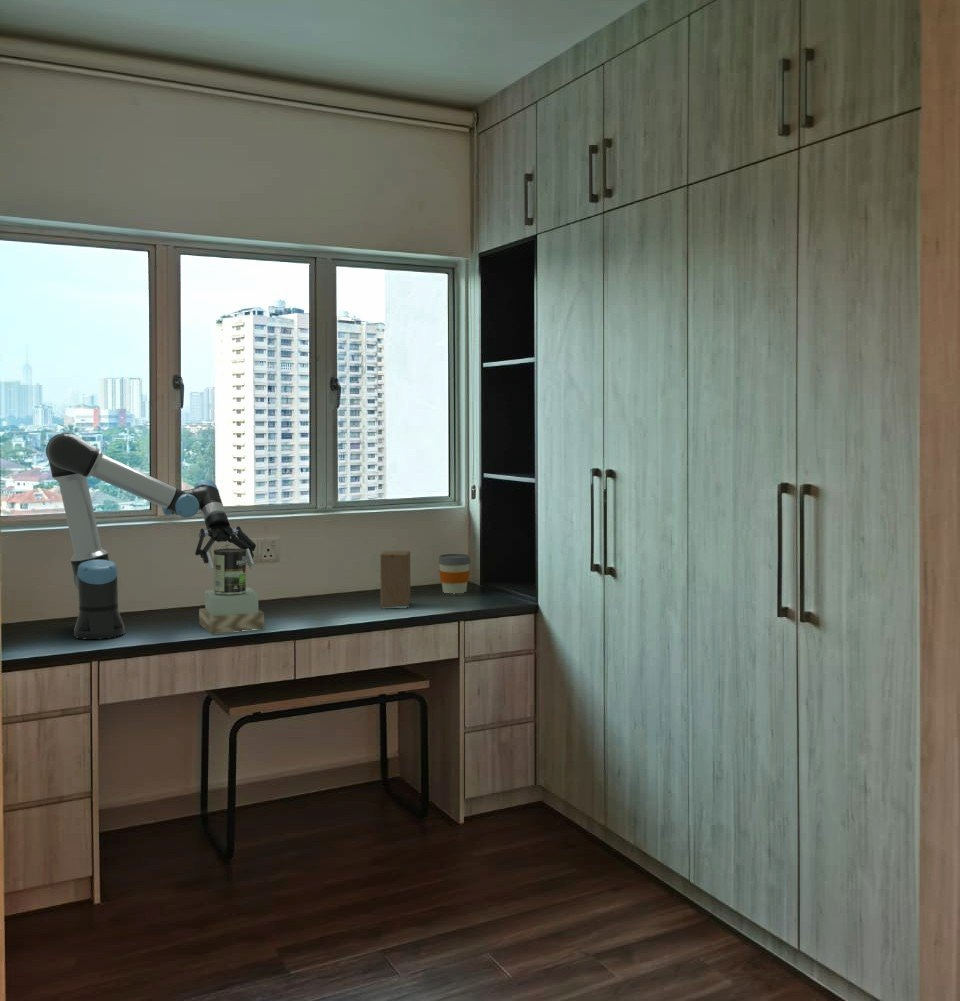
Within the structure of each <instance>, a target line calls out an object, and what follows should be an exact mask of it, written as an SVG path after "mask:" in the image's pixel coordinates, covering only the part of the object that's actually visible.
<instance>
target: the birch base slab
mask: <svg viewBox="0 0 960 1001" xmlns="http://www.w3.org/2000/svg"><path fill="white" fill-rule="evenodd" d="M198 612H199V613H198V616H199V617H198V618H199V626H200V625H201V626H202V627H201V626H200V627H201V628H203V627H204V628H205V629H206V630H205V629H204V628H203V629H204V630H205V631H207V630H208V631H209V632H210V633H209V632H208V631H207V632H208V633H209V634H211V633H212V634H214V635H216V634H215V633H223V634H226V633H225V632H233V633H235V632H234V631H242V630H252V629H262V630H264V629H265V612H263V611H262V610H260V609H258V613H251V614H238V615H224V616H211V615H210V614H209V612H208V611H207V610H206V608H205V607H204V608H199V610H198ZM263 628H264V629H263ZM252 631H253V630H252ZM212 634H211V635H212Z"/></svg>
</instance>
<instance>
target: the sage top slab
mask: <svg viewBox="0 0 960 1001" xmlns="http://www.w3.org/2000/svg"><path fill="white" fill-rule="evenodd" d="M204 604H205V605H204V606H205V607H204V608H206V610H207V611H208V612H209V614H210V615H211V616H224V615H238V614H251V613H258V610H259V594H258V593H257V592H256V591H254V589H252V588H251V587H246V592H245V593H243V594H235V595H221V594H215V593H214V589H209V590H208V589H207V590H204Z"/></svg>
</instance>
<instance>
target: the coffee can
mask: <svg viewBox="0 0 960 1001" xmlns="http://www.w3.org/2000/svg"><path fill="white" fill-rule="evenodd" d="M213 553H214V554H213V555H214V556H213V557H214V562H213V566H214V568H213V570H214V576H213V577H214V579H213V580H214V581H213V583H214V586H213V587H214V589H213V590H214V593H215V594H221V595H235V594H243V593H245V592H246V588H247V586H246V585H247V584H246V581H247V580H246V579H247V578H246V576H247V575H246V573H247V572H246V569H247V568H246V567H247V563H246V562H247V559H246V550H245V549H241V548H219V549H218V548H217V549H214V550H213Z"/></svg>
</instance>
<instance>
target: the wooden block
mask: <svg viewBox="0 0 960 1001" xmlns="http://www.w3.org/2000/svg"><path fill="white" fill-rule="evenodd" d="M379 556H380V558H379V559H380V563H379V564H380V566H379V568H380V570H379V571H380V608H381V607H393V606H394V607H395V606H409V607H410V605H409V603H410V604H411V551H410V550H383V551H382V552H381V553H380V555H379Z"/></svg>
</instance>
